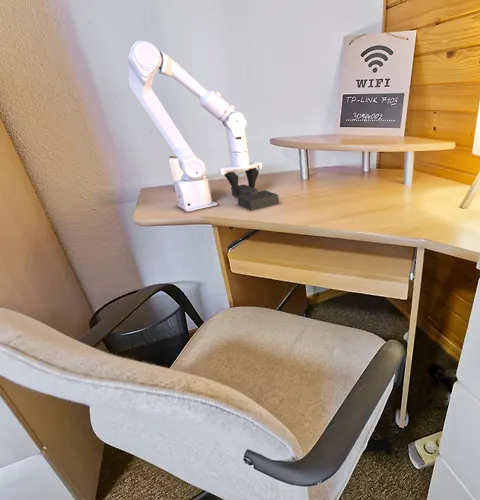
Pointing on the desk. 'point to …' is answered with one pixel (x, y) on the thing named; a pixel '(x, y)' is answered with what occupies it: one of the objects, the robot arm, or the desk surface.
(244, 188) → the tab pad
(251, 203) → the notch pad
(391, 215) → the desk surface
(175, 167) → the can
